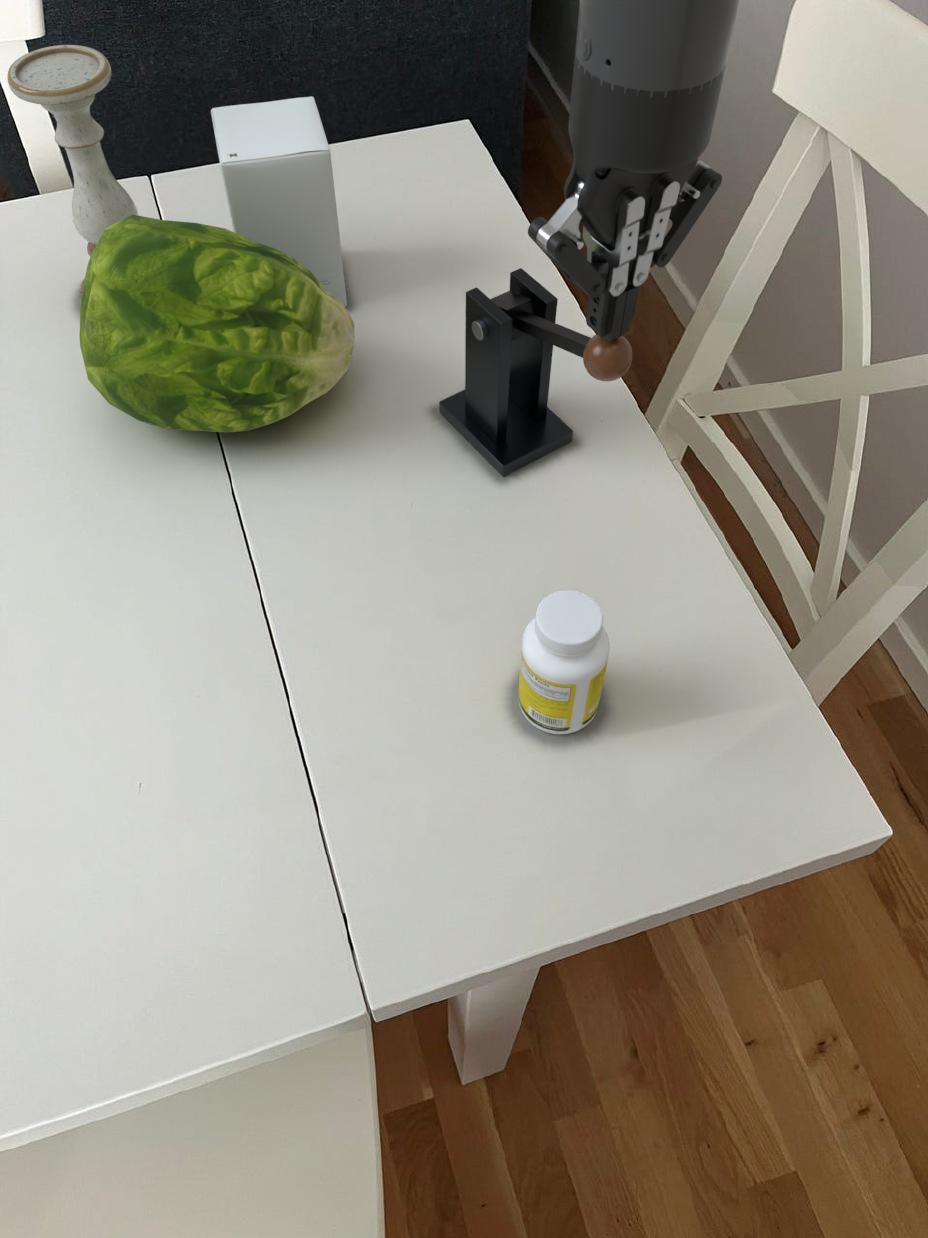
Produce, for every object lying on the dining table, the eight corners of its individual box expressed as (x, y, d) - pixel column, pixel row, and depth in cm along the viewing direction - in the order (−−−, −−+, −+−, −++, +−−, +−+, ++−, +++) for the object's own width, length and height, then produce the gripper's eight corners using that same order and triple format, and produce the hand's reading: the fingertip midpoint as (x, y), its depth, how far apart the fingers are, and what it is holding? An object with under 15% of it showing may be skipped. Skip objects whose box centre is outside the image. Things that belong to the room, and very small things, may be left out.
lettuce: (334, 496, 80) (380, 332, 70) (58, 450, 74) (66, 263, 64) (327, 386, 91) (367, 230, 81) (88, 338, 85) (98, 163, 75)
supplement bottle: (579, 658, 68) (595, 570, 60) (610, 724, 65) (631, 640, 57) (505, 679, 67) (511, 592, 59) (533, 746, 64) (544, 665, 56)
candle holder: (199, 288, 91) (141, 60, 75) (128, 338, 87) (50, 108, 71) (133, 254, 94) (63, 28, 78) (61, 301, 90) (-28, 72, 74)
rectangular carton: (350, 308, 90) (332, 149, 78) (251, 323, 89) (217, 164, 76) (334, 250, 95) (315, 92, 83) (241, 263, 94) (208, 104, 81)
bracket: (572, 441, 80) (589, 310, 70) (502, 477, 78) (509, 347, 67) (506, 379, 84) (513, 247, 74) (439, 412, 82) (435, 280, 72)
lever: (644, 376, 65) (641, 330, 63) (606, 395, 64) (602, 349, 62) (519, 323, 75) (513, 282, 73) (485, 339, 74) (478, 298, 72)
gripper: (596, 118, 45) (563, 405, 59) (801, 40, 49) (724, 324, 63) (499, 52, 48) (489, 338, 63) (698, -16, 53) (647, 266, 67)
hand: (608, 331), depth 63 cm, fingers closed
